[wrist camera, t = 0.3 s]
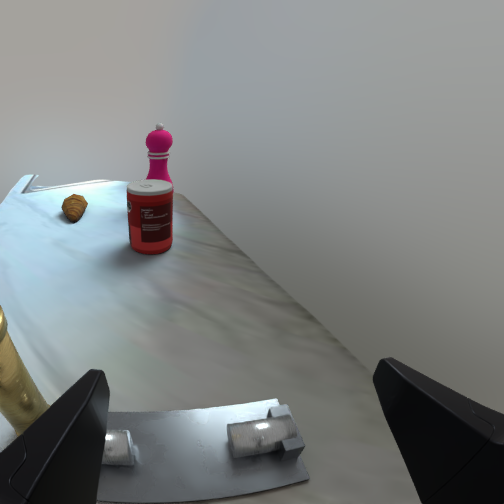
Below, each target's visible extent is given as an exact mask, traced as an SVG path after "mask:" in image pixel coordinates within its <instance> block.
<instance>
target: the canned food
mask: <svg viewBox="0 0 504 504" xmlns="http://www.w3.org/2000/svg"><path fill="white" fill-rule="evenodd" d="M127 210H128V226H129V239H130V244H131V247H132V249H133V250H135V251H136V252H138V253H142V254H159V253H162V252H165V251H167V250H168V249H169V248H170V247H171V244H172V241H173V238H172V215H173V188H172V184H171V183H170V182H167V181H164V180H156V179H148V180H140V181H135V182H132V183H130V184H128V185H127Z"/></svg>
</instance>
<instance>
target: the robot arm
mask: <svg viewBox="0 0 504 504" xmlns="http://www.w3.org/2000/svg"><path fill="white" fill-rule="evenodd" d="M373 383H374V386H375V389H376V392H377V395H378V398H379V401H380V404H381V407H382V410H383V413H384V416H385V418H386V420H387V423H388V425H389V427H390V429H391V432H392V434H393V436H394V438H395V441H396V443H397V445H398V448H399V450H400V452H401V455H402V457H403V459H404V462H405V464H406V466H407V469H408V471H409V473H410V476H411V478H412V481H413V483H414V486H415V488H416V491H417V493H418V496H419V498H420V501H421V503H422V504H504V414H502V413H499V412H497V411H495V410H492V409H490V408H488V407H485V406H483V405H481V404H479V403H477V402H475V401H473V400H471V399H469V398H467V397H465V396H463V395H461V394H459V393H458V392H455V391H454V390H452V389H450V388H448V387H446V386H444V385H442V384H440V383H438V382H436V381H434V380H433V379H431V378H429V377H427V376H425V375H423V374H421V373H420V372H418V371H416V370H414V369H412V368H410V367H408V366H407V365H405V364H403V363H401V362H399V361H397V360H395V359H394V358H391V357H389V358H383V359H381V360H380V361H379V363H378V365H377V368H376V370H375V372H374V375H373ZM109 397H110V391H109V386H108V383H107V380H106V376H105V373H104V372H103V371H102V370H97V369H90V370H89V371H88V372H87V373H86V374H84V375H83V376H82V377H81V378H80V379H79V380H78V381H77V382H76V383H75V384H74V385H73V386H71V387H70V388H69V389H68V390H67V391H66V392H65V393H64V394H63V395H62V396H61V397H60V398H59V399H57V400H56V401H55V402H54V403H53V404H52V405H51V406H50V407H49V408H48V409H47V410H46V411H45V412H44V413H43V414H41V415H40V416H39V417H38V418H37V419H36V420H35V421H34V422H33V423H32V424H31V425H30V426H29V427H28V428H27V429H26V430H25V431H24V432H23V434H20V435H19V436H18V437H17V438H16V439H15V440H14V441H13V442H12V443H11V444H10V445H9V446H7V447H6V448H5V449H4V450H3V451H2V452H0V504H96V501H97V493H98V485H99V478H100V471H101V465H102V459H103V453H104V447H105V441H106V433H107V420H108V407H109Z"/></svg>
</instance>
